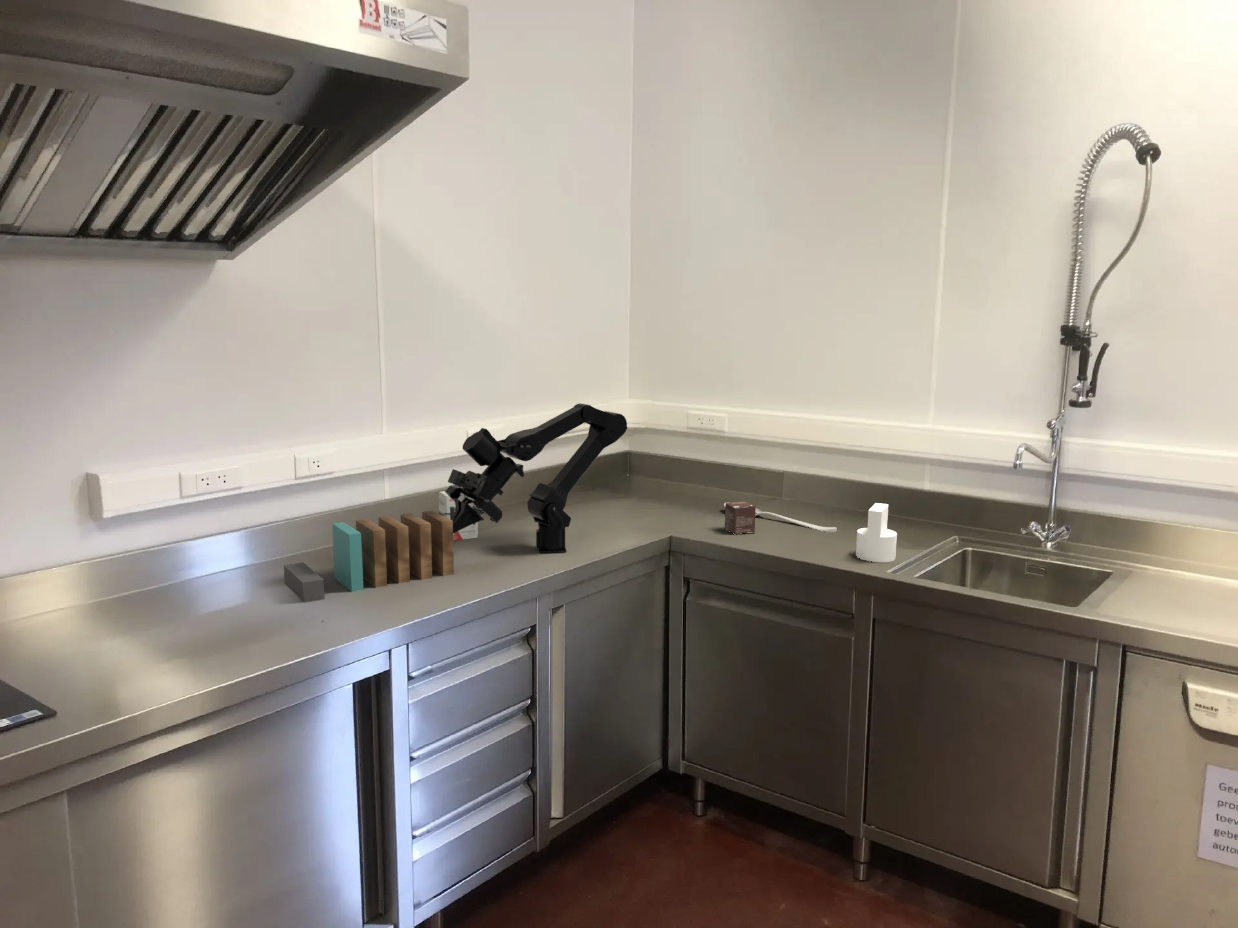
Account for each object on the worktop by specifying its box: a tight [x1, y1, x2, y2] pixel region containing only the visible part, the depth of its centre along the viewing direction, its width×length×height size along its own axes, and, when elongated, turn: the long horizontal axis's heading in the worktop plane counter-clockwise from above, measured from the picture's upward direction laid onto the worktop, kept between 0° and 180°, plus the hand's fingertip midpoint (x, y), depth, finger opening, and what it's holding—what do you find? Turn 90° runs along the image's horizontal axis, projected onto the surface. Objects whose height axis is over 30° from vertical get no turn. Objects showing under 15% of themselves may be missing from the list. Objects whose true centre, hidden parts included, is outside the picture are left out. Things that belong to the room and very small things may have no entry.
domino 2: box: [355, 518, 388, 588], centre depth 191 cm, size 2×11×12 cm, turn 34°
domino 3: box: [378, 515, 411, 584], centre depth 194 cm, size 2×11×12 cm, turn 35°
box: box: [724, 501, 757, 535], centre depth 235 cm, size 6×6×7 cm
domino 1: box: [331, 521, 364, 593], centre depth 188 cm, size 2×11×12 cm, turn 34°
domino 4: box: [400, 512, 433, 580], centre depth 197 cm, size 2×11×12 cm, turn 34°
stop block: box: [283, 562, 325, 603], centre depth 184 cm, size 4×14×4 cm, turn 35°
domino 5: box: [421, 510, 455, 577], centre depth 200 cm, size 2×11×12 cm, turn 34°
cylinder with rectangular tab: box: [855, 502, 898, 563], centre depth 213 cm, size 9×9×12 cm
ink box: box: [438, 490, 479, 542], centre depth 226 cm, size 8×5×12 cm, turn 123°
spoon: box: [723, 501, 838, 533], centre depth 248 cm, size 35×8×3 cm, turn 49°
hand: (448, 532), depth 201 cm, fingers closed
